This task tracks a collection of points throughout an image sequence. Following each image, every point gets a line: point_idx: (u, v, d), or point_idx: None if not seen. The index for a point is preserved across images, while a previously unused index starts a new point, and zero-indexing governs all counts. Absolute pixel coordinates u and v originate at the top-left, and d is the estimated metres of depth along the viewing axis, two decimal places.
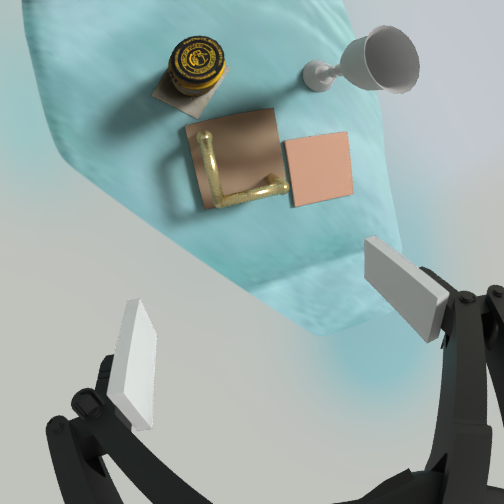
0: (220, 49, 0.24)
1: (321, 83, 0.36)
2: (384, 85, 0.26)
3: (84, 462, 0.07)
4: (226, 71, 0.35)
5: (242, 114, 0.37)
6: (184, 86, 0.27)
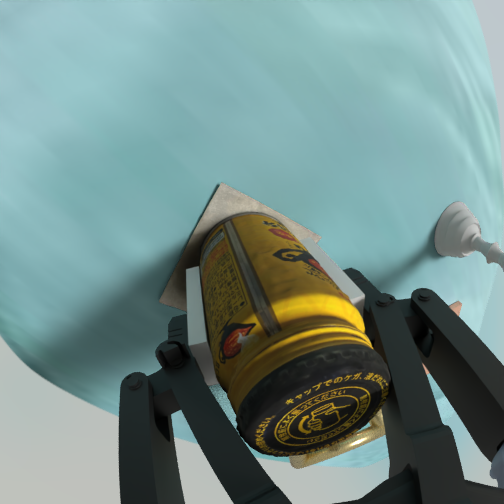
0: (388, 386, 0.08)
1: (461, 255, 0.20)
2: None
3: (154, 425, 0.09)
4: None
5: None
6: None
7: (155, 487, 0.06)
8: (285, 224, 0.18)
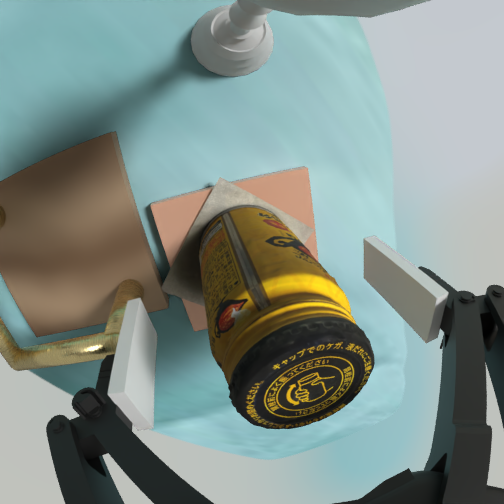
0: (370, 360, 0.09)
1: (227, 53, 0.13)
2: None
3: (85, 462, 0.07)
4: (307, 237, 0.20)
5: (49, 160, 0.14)
6: None
7: None
8: (280, 217, 0.19)
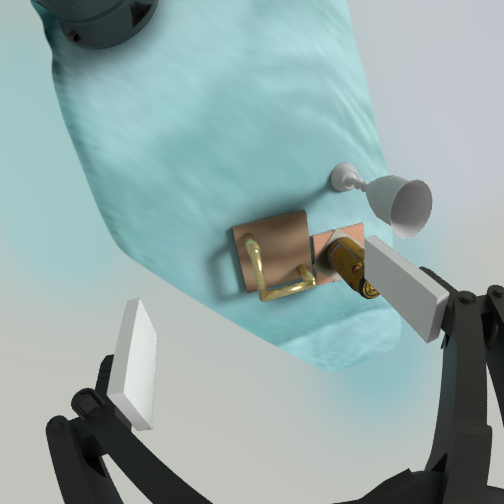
0: None
1: (346, 188, 0.46)
2: (400, 216, 0.36)
3: (84, 462, 0.07)
4: (361, 248, 0.53)
5: (280, 219, 0.47)
6: (356, 291, 0.46)
7: None
8: (353, 241, 0.52)
